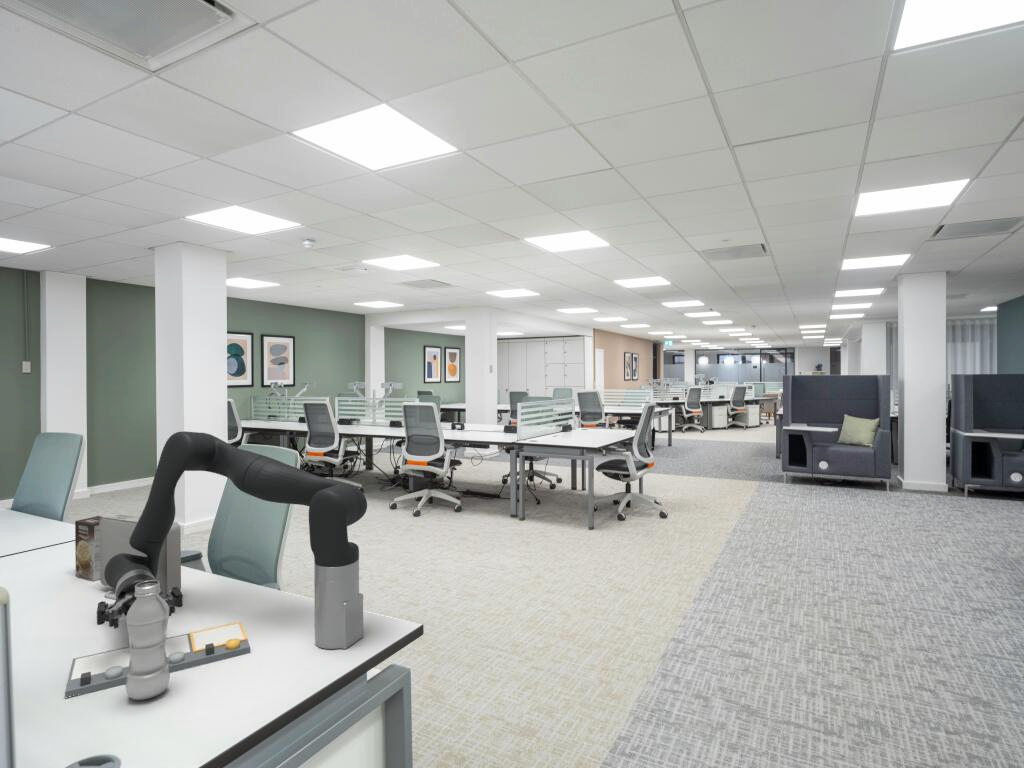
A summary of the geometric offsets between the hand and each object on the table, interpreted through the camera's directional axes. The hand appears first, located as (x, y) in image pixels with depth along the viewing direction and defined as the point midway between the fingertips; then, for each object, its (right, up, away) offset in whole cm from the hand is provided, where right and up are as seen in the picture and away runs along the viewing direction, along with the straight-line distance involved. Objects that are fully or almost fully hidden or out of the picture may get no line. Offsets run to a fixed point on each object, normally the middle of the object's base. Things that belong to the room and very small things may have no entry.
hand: (143, 617), depth 107 cm
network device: (-26, -11, +39) cm, 48 cm away
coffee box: (-49, -10, +53) cm, 73 cm away
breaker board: (0, -11, +6) cm, 12 cm away
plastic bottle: (+5, -11, -7) cm, 14 cm away
